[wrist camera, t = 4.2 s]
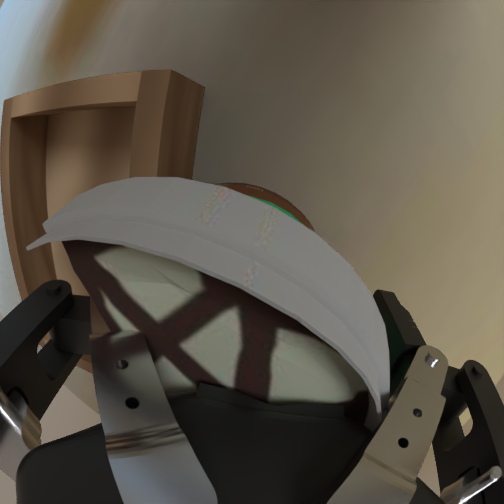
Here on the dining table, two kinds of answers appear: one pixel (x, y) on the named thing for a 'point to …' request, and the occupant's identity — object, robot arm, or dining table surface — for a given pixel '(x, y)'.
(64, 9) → the dining table surface
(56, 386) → the robot arm
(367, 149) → the dining table surface
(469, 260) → the dining table surface
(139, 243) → the food container
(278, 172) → the dining table surface
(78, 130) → the wooden box
